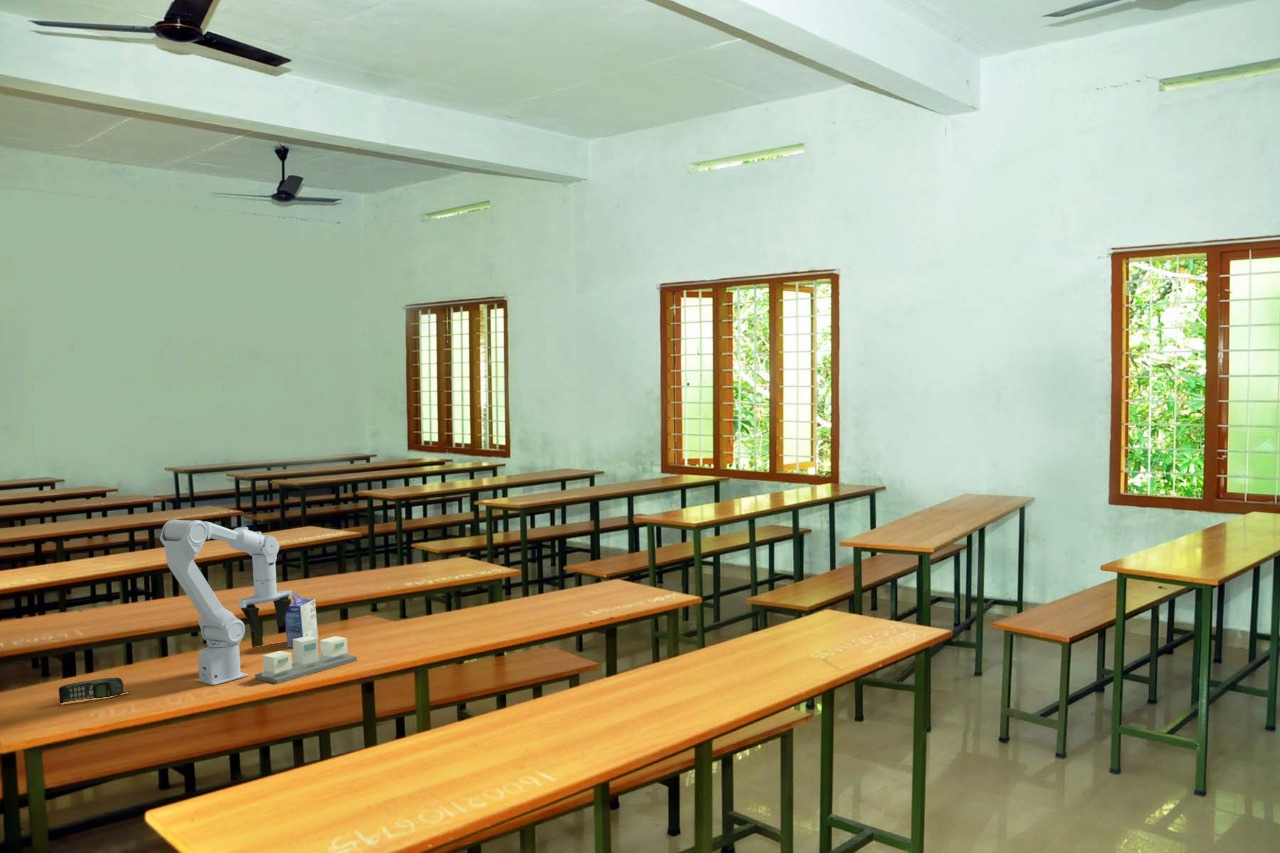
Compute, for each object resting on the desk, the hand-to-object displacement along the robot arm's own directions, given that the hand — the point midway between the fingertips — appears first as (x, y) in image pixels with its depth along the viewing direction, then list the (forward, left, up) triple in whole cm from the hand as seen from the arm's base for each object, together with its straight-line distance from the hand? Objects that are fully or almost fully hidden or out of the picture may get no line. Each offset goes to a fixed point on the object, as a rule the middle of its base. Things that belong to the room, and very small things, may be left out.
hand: (267, 628), depth 265 cm
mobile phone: (-41, +10, -10) cm, 43 cm away
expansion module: (+2, -14, -7) cm, 16 cm away
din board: (+2, -15, -9) cm, 17 cm away
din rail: (+2, -15, -9) cm, 17 cm away
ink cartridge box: (+18, +11, -10) cm, 23 cm away
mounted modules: (+2, -15, -7) cm, 17 cm away
